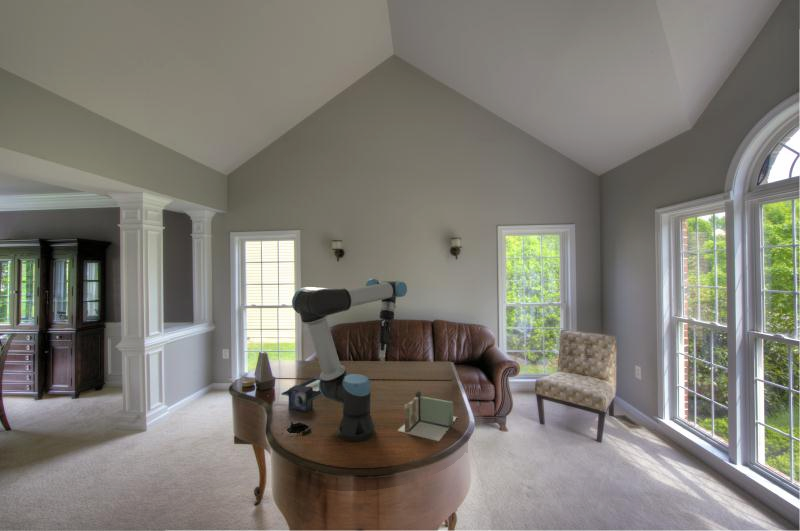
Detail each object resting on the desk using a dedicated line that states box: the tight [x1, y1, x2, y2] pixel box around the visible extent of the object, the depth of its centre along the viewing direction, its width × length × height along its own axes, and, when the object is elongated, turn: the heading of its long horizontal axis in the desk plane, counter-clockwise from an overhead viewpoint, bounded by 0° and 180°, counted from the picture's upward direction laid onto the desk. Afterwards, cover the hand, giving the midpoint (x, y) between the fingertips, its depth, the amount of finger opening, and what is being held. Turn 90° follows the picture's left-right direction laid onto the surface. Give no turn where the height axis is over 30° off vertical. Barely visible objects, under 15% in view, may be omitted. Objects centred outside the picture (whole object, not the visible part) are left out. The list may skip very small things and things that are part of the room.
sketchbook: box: [281, 376, 323, 400], centre depth 194 cm, size 22×30×2 cm
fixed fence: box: [404, 390, 422, 432], centre depth 145 cm, size 14×3×14 cm, turn 153°
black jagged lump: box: [287, 421, 312, 436], centre depth 141 cm, size 12×10×5 cm
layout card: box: [397, 415, 458, 442], centre depth 147 cm, size 24×19×1 cm
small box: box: [288, 384, 314, 413], centre depth 165 cm, size 11×6×10 cm, turn 73°
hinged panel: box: [420, 396, 454, 427], centre depth 146 cm, size 15×2×10 cm, turn 64°
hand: (381, 357), depth 162 cm, fingers closed
